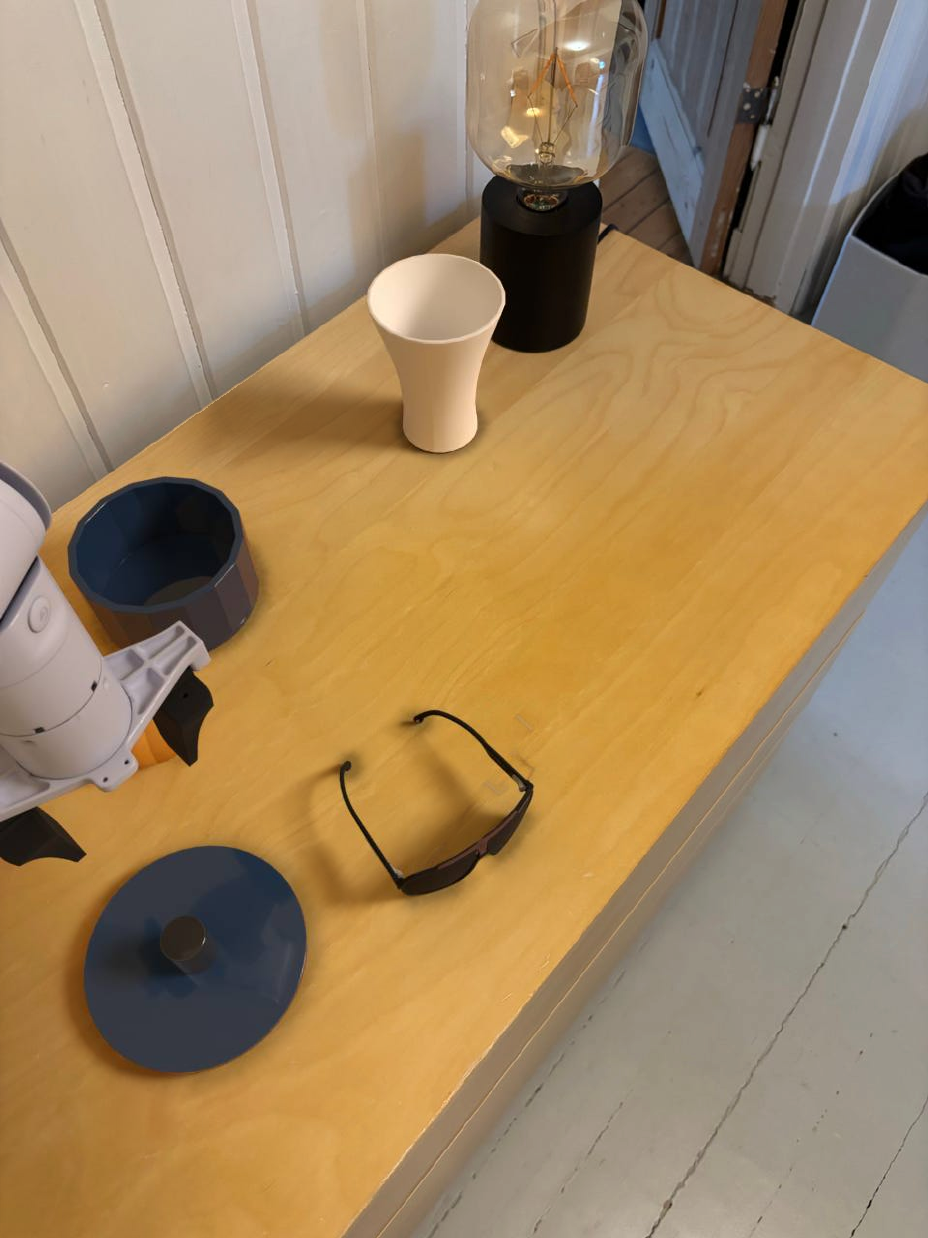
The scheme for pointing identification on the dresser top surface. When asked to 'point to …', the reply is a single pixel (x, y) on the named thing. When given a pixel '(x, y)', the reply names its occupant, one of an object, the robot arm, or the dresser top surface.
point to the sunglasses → (468, 858)
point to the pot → (165, 562)
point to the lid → (195, 959)
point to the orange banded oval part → (151, 747)
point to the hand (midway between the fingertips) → (129, 798)
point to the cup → (437, 341)
